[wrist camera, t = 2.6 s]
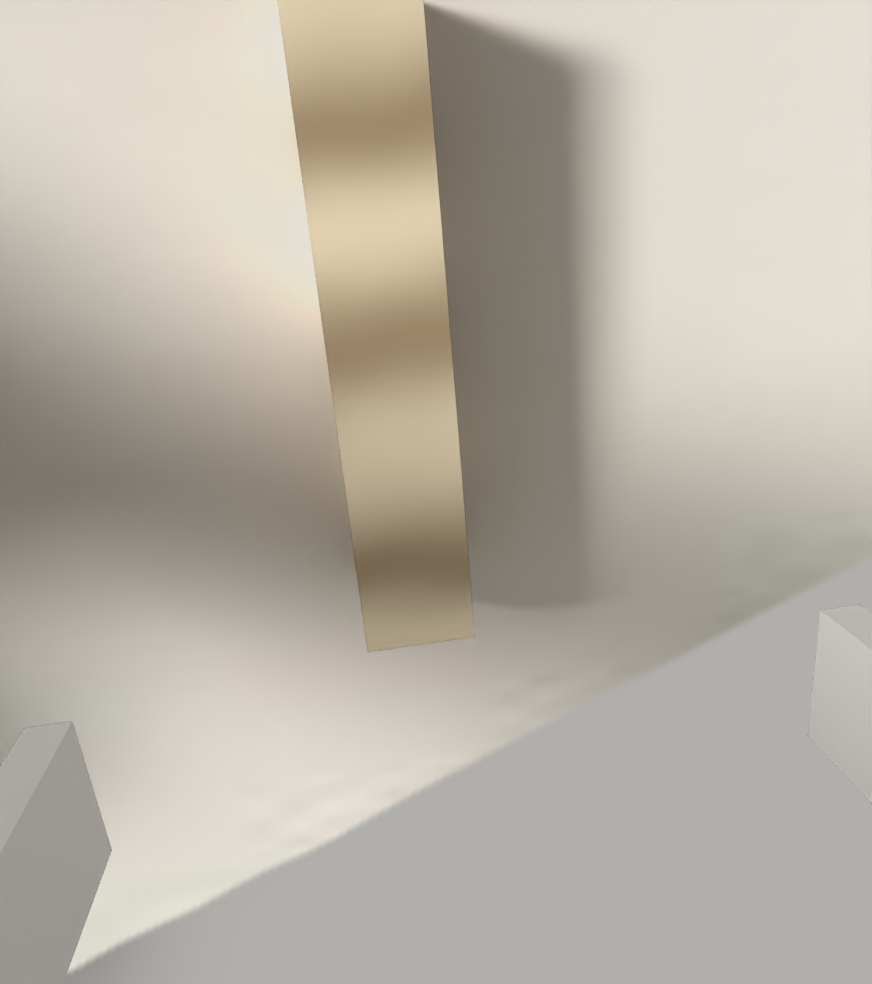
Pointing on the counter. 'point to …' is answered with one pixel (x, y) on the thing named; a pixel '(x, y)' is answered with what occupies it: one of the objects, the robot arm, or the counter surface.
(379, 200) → the beech bar
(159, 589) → the counter surface
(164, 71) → the counter surface
